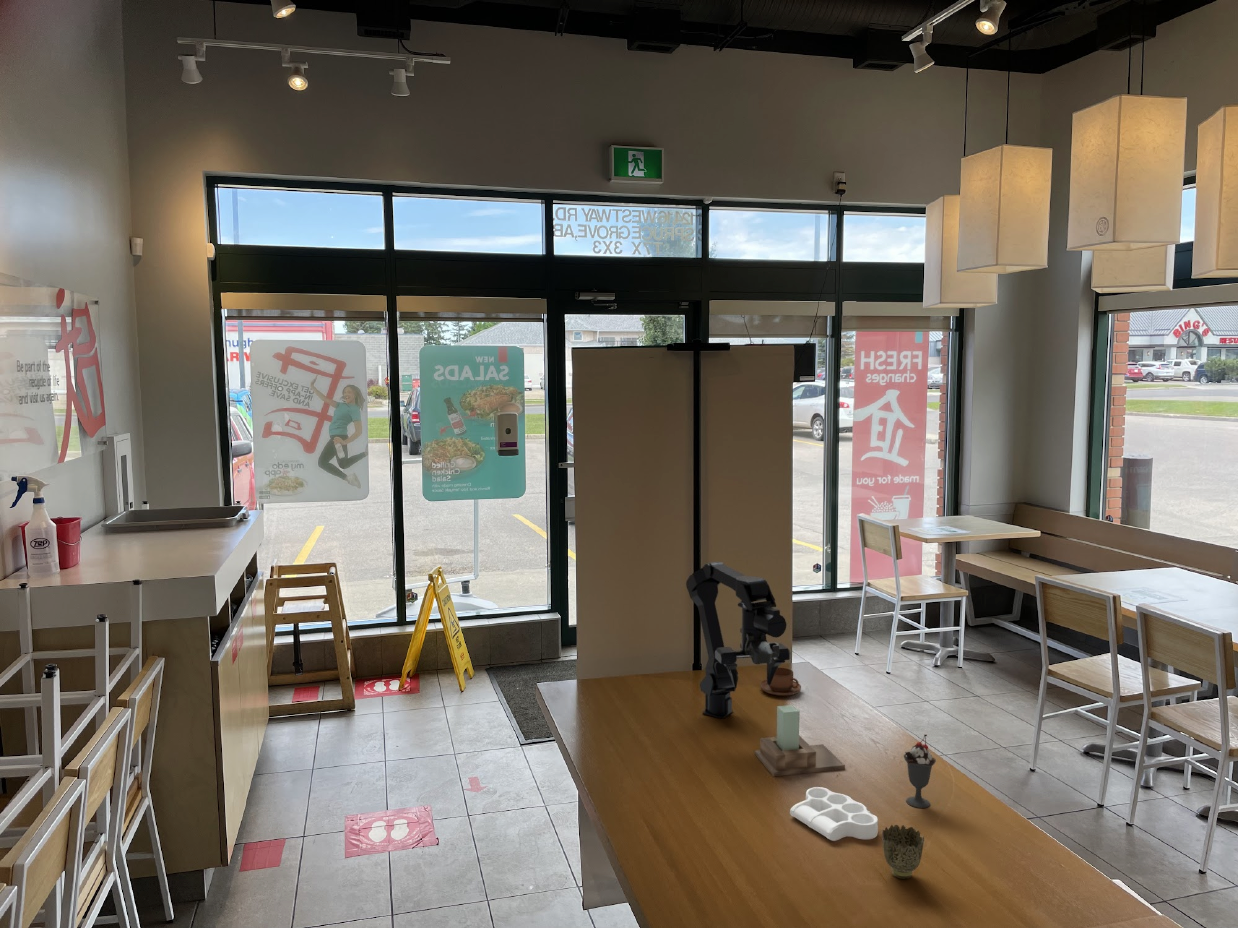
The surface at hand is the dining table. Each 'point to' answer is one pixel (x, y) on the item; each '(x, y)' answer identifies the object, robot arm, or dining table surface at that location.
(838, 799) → the white brass knuckles
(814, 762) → the wooden socket base
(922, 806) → the sundae
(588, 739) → the dining table surface
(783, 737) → the sage green square pillar
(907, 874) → the cup
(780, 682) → the cup and saucer
